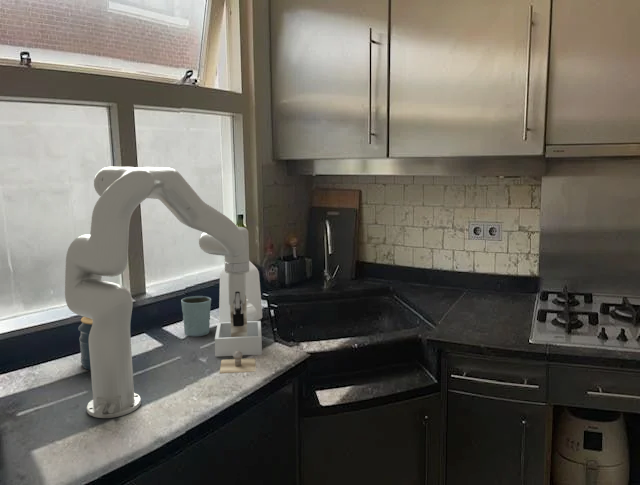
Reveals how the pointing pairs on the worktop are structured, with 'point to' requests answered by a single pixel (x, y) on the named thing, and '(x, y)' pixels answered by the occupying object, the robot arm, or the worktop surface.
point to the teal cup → (196, 315)
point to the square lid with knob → (238, 364)
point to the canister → (85, 341)
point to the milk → (251, 294)
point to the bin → (238, 340)
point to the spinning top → (251, 312)
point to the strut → (239, 330)
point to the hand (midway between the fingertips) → (238, 322)
